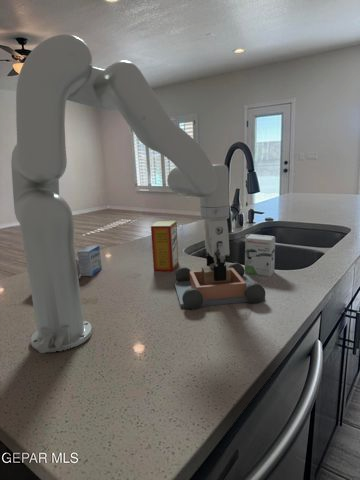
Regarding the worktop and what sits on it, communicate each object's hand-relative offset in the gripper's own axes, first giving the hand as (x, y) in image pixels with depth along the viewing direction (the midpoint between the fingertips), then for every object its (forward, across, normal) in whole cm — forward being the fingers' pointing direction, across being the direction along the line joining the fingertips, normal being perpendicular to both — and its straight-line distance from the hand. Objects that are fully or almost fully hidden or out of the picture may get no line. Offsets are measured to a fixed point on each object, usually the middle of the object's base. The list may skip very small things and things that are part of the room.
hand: (216, 274), depth 92 cm
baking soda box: (+6, +26, +12) cm, 29 cm away
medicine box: (+6, +27, +38) cm, 47 cm away
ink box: (+6, +13, -17) cm, 22 cm away
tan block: (+4, 0, 0) cm, 4 cm away
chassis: (+5, 0, 0) cm, 5 cm away
